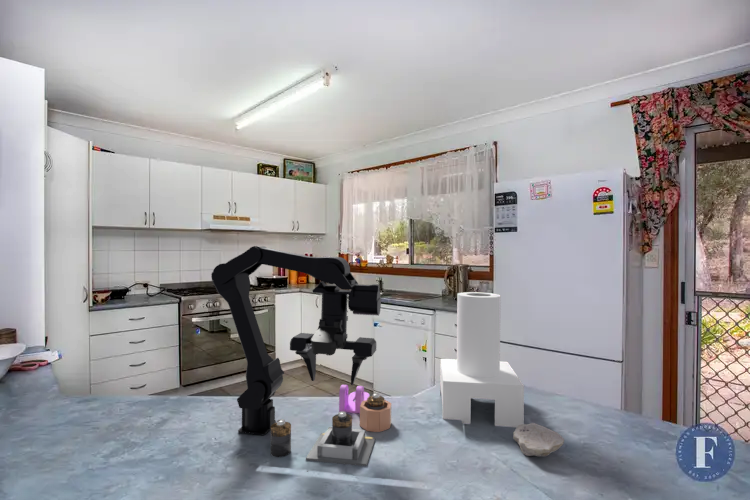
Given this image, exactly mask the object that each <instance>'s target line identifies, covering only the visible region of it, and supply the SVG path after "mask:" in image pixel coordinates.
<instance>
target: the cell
mask: <svg viewBox="0 0 750 500" xmlns="http://www.w3.org/2000/svg"><path fill="white" fill-rule="evenodd" d="M331 419H332V420H331V424H332V425H331V427H332V445H342V446H352V429H353V417H352V415H350V414H348V413H347V412H344V411H341V412H340V411H338V413H336V414H335V415H333V416H332V418H331Z"/></svg>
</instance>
